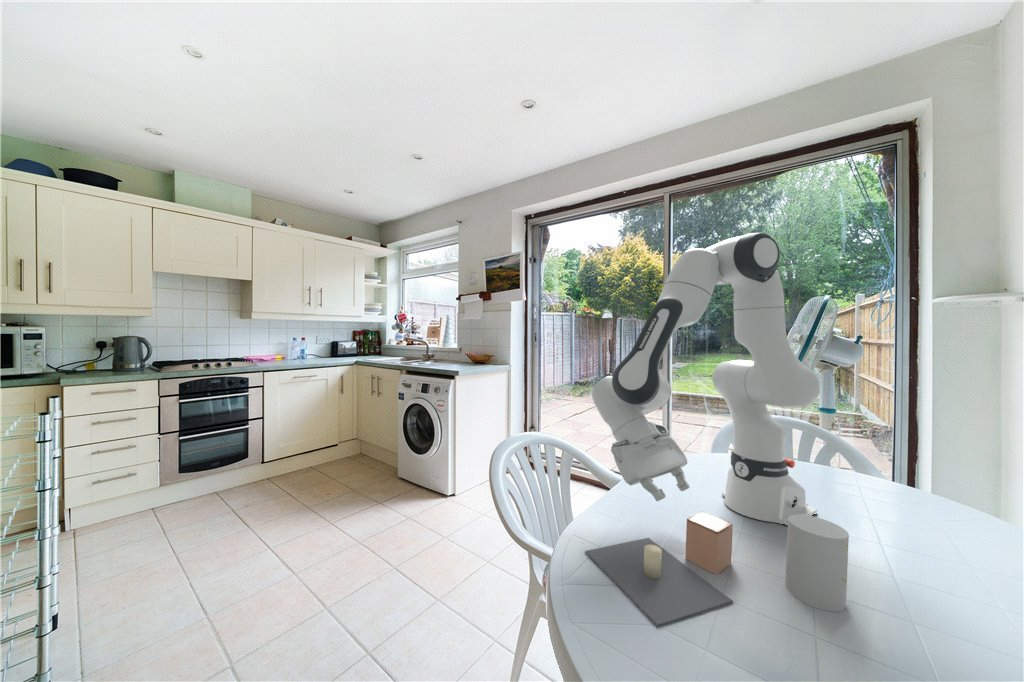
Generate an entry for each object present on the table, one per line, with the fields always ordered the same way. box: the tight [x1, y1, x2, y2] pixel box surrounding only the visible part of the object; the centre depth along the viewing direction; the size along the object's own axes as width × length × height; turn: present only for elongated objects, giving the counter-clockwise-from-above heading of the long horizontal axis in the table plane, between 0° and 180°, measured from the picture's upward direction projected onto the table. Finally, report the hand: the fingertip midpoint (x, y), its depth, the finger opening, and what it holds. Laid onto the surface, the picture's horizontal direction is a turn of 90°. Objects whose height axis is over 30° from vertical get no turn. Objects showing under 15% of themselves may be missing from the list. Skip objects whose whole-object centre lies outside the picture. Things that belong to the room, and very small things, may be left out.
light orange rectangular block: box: [684, 511, 734, 576], centre depth 72 cm, size 6×6×8 cm
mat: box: [584, 537, 734, 628], centre depth 67 cm, size 16×20×5 cm
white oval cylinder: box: [784, 515, 850, 613], centre depth 64 cm, size 8×8×12 cm
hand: (674, 494), depth 78 cm, fingers open, 8 cm apart
